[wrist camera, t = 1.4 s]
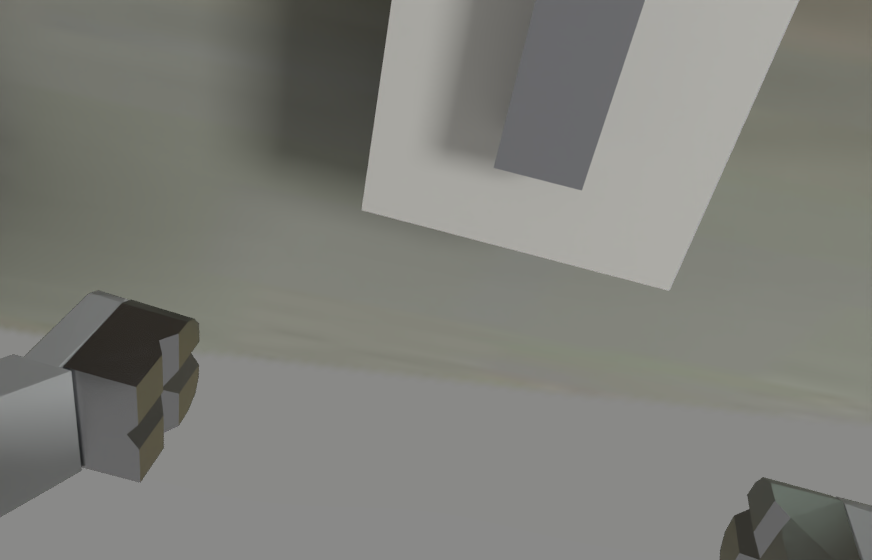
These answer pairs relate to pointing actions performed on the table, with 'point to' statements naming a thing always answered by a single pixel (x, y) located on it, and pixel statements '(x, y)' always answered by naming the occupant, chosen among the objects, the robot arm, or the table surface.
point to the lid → (567, 122)
